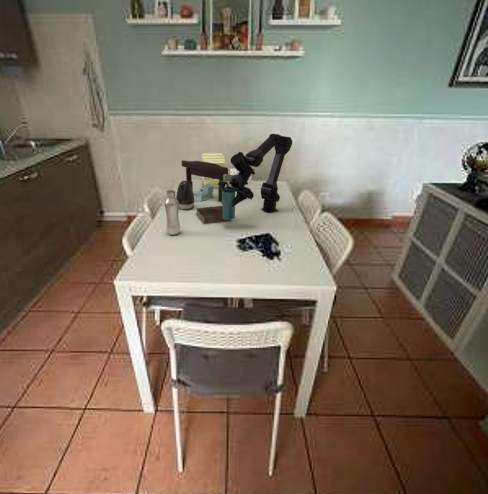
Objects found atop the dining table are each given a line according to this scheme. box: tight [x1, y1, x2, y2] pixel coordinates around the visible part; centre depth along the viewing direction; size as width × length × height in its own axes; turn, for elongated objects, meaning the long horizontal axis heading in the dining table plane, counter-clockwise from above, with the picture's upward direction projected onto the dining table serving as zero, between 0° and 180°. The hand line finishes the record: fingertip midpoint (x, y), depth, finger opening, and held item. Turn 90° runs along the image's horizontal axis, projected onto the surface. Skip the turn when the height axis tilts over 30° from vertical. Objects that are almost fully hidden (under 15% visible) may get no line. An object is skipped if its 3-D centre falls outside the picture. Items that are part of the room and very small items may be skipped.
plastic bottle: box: [163, 189, 182, 236], centre depth 146 cm, size 6×7×20 cm
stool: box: [181, 160, 228, 203], centre depth 191 cm, size 16×21×33 cm
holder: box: [195, 205, 231, 225], centre depth 168 cm, size 14×14×3 cm
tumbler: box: [221, 189, 236, 220], centre depth 152 cm, size 6×6×13 cm
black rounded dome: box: [175, 180, 196, 210], centre depth 177 cm, size 10×10×15 cm
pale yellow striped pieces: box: [201, 152, 231, 188], centre depth 217 cm, size 30×16×18 cm, turn 7°
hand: (226, 205), depth 151 cm, fingers closed on tumbler, 6 cm apart
